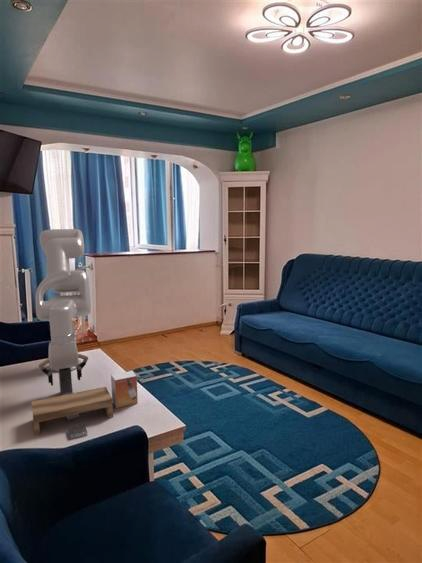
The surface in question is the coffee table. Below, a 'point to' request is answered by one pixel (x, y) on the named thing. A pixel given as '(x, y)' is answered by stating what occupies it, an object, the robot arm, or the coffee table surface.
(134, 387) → the small box
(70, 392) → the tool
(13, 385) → the coffee table surface
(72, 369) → the robot arm
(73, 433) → the token
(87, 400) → the bench
